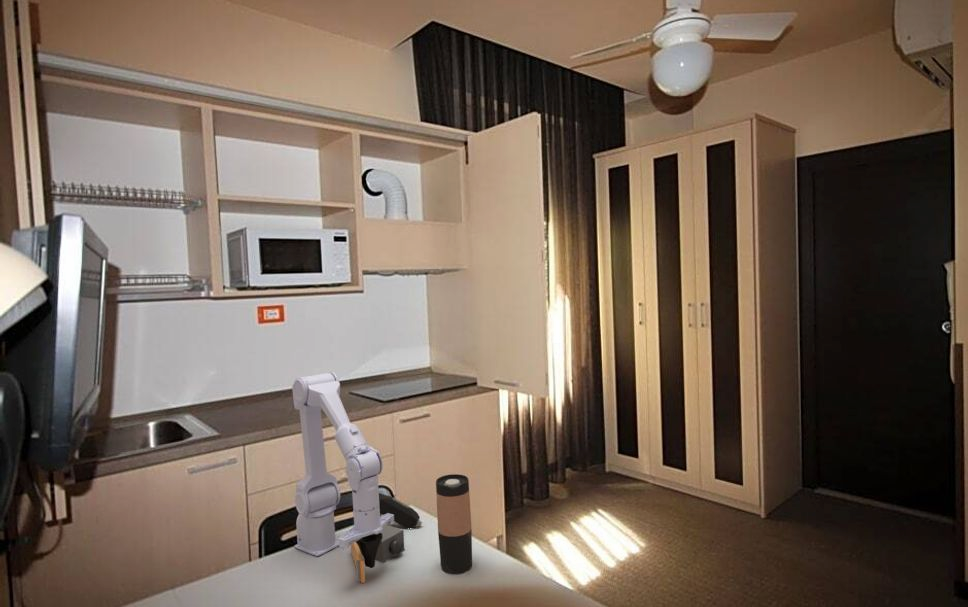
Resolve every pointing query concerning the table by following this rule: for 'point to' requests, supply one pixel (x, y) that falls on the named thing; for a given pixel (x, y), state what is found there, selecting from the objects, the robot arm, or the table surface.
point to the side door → (358, 561)
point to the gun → (399, 511)
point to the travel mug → (454, 523)
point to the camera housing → (390, 543)
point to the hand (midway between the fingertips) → (369, 566)
